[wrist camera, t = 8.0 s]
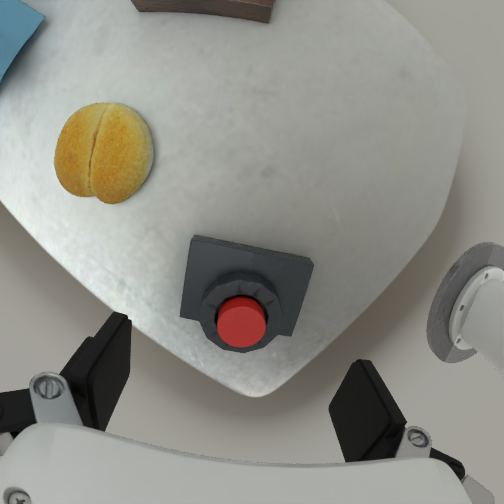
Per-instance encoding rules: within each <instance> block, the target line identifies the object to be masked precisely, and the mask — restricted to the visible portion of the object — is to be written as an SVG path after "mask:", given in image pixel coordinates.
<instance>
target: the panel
mask: <svg viewBox="0 0 504 504" xmlns="http://www.w3.org/2000/svg"><path fill="white" fill-rule="evenodd" d="M131 1H132V3H133V4H134V6H135V7H136V9H137V10H138V11H139V12H147V11H165V12H190V13H203V14H213V15H221V16H229V17H236V18H242V19H248V20H254V21H259V22H264V23H269V21H270V18H271V14H272V11H273V7H274V4H275V1H276V0H131Z"/></svg>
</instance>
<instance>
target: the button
mask: <svg viewBox="0 0 504 504" xmlns="http://www.w3.org/2000/svg"><path fill="white" fill-rule="evenodd" d="M217 330H218V333H219V335H220V337H221V338H222V340H223V341H225V342H226V343H227V344H229V345H231V346H235V347H248V346H251V345H254V344H255V343H257V342H258V341H259V340H260V339H261V338H262V337H263V335H264V333H265V330H266V323H265V318H264V312H263V309H262V307H261V306H260V305H259V303H257V302H256V301H255V300H253V299H251V298H248V297H235V298H232V299H229V300H228V301H226V302H225V303H224V304H223V305H222V307H221V308H220V310H219V315H218V323H217Z"/></svg>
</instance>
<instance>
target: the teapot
mask: <svg viewBox="0 0 504 504" xmlns="http://www.w3.org/2000/svg"><path fill="white" fill-rule="evenodd" d="M44 18H45V16H44V15H42V14H40V13H39V12H37V11H36V10H34V9H32V8H31V7H29V6H28V5H26V4H24V3H23V2H21V1H19V0H0V83H1V81H2V78H3V75H4V73H5V72H6V70H7V69H8V67H9V65H10V64H11V62H12V61H13V59H14V58H15V56H16V55H17V53H18V52H19V50H20V49H21V48H22V46H23V45H24V43H25V42H26V41H27V39H29V38H30V37H31V36H32V35H33V34H34V32H35V31H36V29H37V27H38V25H39V24H40V23H41V21H42V20H43V19H44Z"/></svg>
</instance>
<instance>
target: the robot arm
mask: <svg viewBox="0 0 504 504" xmlns="http://www.w3.org/2000/svg"><path fill="white" fill-rule="evenodd" d="M131 328H132V321H131V320H129V319H128V316H127V315H125V314H122V313H118V312H113V313H112V314H111V316H110V317H109V318H108V319H107V321H106V322H105V323H104V325H103V326H102V327H101V329H100V330H99V331H98V333H97V334H96V335H95V336H94V338H93V337H90V336H89V337H87V338H86V339H85V340H84V342H83V343H82V344H81V346H80V347H79V348H78V349H77V351H76V352H75V353H74V355H73V356H72V357H71V359H70V360H69V361H68V363H67V364H66V366H65V367H64V368H63V370H62V371H61V372H60V374H57V373H53V372H42V373H39V374H37V375H35V376H34V377H33V378H32V379H31V381H30V384H29V388H28V389H22V390H16V391H9V392H2V393H0V456H2V458H1V459H0V504H494V502H495V501H494V496H493V494H492V493H491V492H490V491H489V490H487V489H486V488H485V487H484V486H482V485H481V484H480V483H478V482H477V481H476V480H474V479H473V478H472V477H471V476H469V475H467V476H465V469H464V467H463V465H462V463H461V462H460V461H458V460H456V459H454V458H452V457H450V456H448V455H446V454H443V453H441V452H440V451H438V450H436V449H434V448H432V447H431V446H432V440H431V436H430V435H429V434H428V433H427V432H426V431H425V430H424V429H422V428H420V427H417V426H411V427H408V428H405V424H406V423H407V421H406V419H405V418H404V416H403V414H402V412H401V411H400V409H399V407H398V405H397V404H396V402H395V400H394V399H393V397H392V395H391V393H390V392H389V390H388V388H387V387H386V385H385V383H384V382H383V380H382V378H381V377H380V375H379V373H378V372H377V370H376V369H375V367H374V366H373V364H372V362H371V361H370V360H362V359H358V360H357V361H356V362H353V363H352V365H351V366H350V368H349V370H348V372H347V374H346V376H345V378H344V380H343V381H342V383H341V385H340V387H339V389H338V390H337V392H336V394H335V396H334V397H333V399H332V401H331V403H330V405H329V413H330V416H331V419H332V422H333V425H334V428H335V431H336V435H337V437H338V440H339V443H340V447H341V450H342V453H343V456H344V459H345V462H346V463H330V464H279V463H261V462H249V461H239V460H231V459H222V458H216V457H209V456H203V455H197V454H191V453H186V452H181V451H176V450H172V449H167V448H163V447H158V446H154V445H151V444H147V443H142V442H138V441H135V440H132V439H128V438H125V437H121V436H118V435H114V434H111V433H107V432H105V430H106V427H107V425H108V422H109V420H110V418H111V415H112V413H113V411H114V408H115V406H116V404H117V402H118V399H119V397H120V395H121V393H122V390H123V388H124V386H125V384H126V382H127V380H128V377H129V373H130V352H131ZM448 331H449V337H450V340H451V342H452V343H453V344H454V345H455V346H456V347H457V348H458V349H461V350H468V349H472V348H474V349H475V350H476V351H477V352H479V353H480V354H481V355H482V356H483V357H484V358H485V359H486V360H487V361H488V362H489V363H490V364H491V365H492V366H493V367H494V368H495V369H496V370H497V371H498V372H499V373H500V374H501V375H502V376H503V377H504V271H503V270H502V269H500V268H498V267H496V266H488V267H485V268H483V269H481V270H479V271H478V272H477V273H476V274H475V275H473V276H472V277H471V279H470V280H469V281H468V282H467V283H466V285H465V286H464V288H463V289H462V290H461V292H460V294H459V296H458V298H457V300H456V302H455V304H454V306H453V309H452V312H451V316H450V320H449V329H448Z"/></svg>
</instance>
